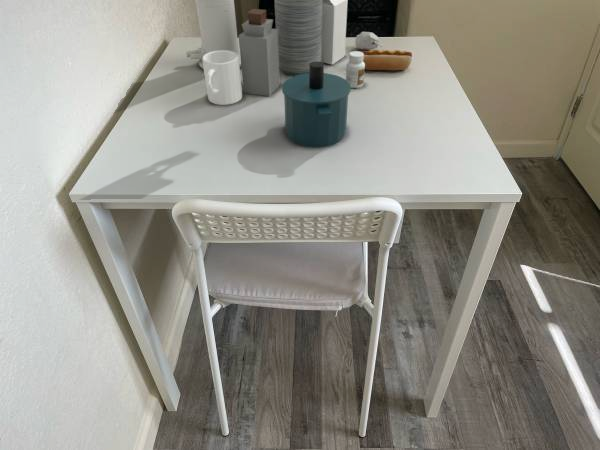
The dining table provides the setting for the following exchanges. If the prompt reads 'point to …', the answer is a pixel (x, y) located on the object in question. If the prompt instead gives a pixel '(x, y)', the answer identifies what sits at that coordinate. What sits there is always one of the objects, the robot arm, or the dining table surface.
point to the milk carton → (333, 30)
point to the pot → (315, 122)
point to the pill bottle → (355, 69)
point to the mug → (222, 77)
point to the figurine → (367, 41)
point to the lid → (316, 86)
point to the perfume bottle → (259, 54)
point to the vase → (298, 34)
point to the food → (386, 60)
